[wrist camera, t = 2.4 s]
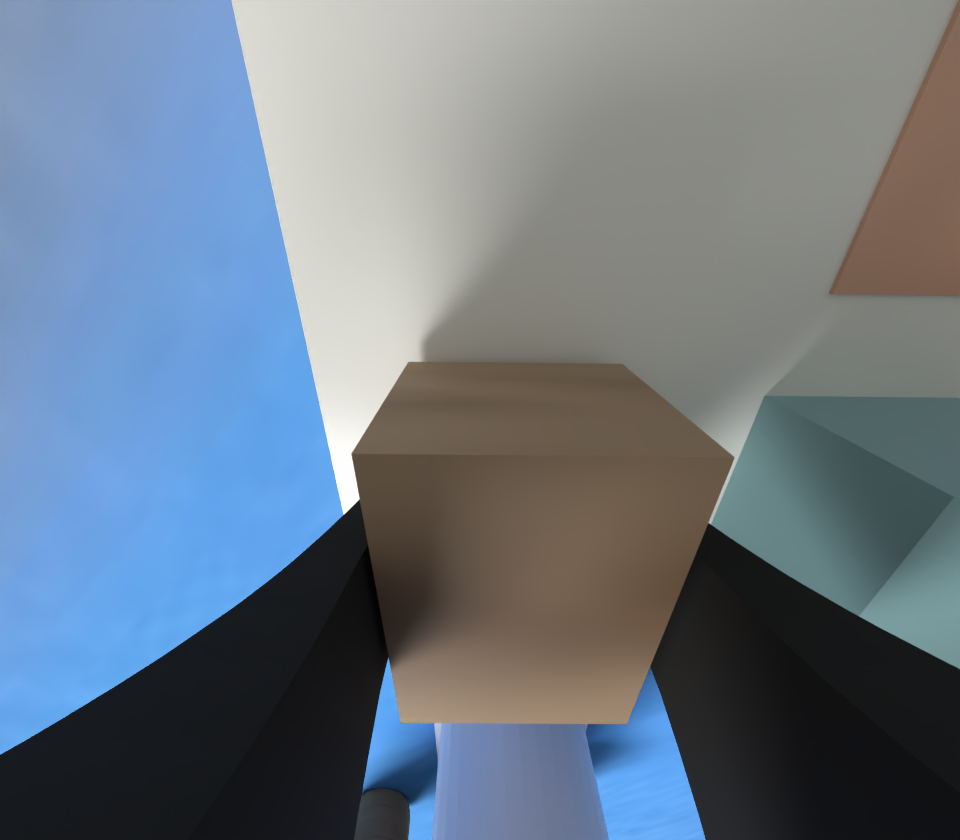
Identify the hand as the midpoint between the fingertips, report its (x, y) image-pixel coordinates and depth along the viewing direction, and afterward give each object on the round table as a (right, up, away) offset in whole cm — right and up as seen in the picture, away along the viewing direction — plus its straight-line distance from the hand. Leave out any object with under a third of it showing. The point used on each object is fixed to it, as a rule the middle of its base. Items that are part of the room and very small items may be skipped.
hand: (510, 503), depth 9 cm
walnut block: (0, 0, +1) cm, 1 cm away
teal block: (+9, 0, +2) cm, 9 cm away
